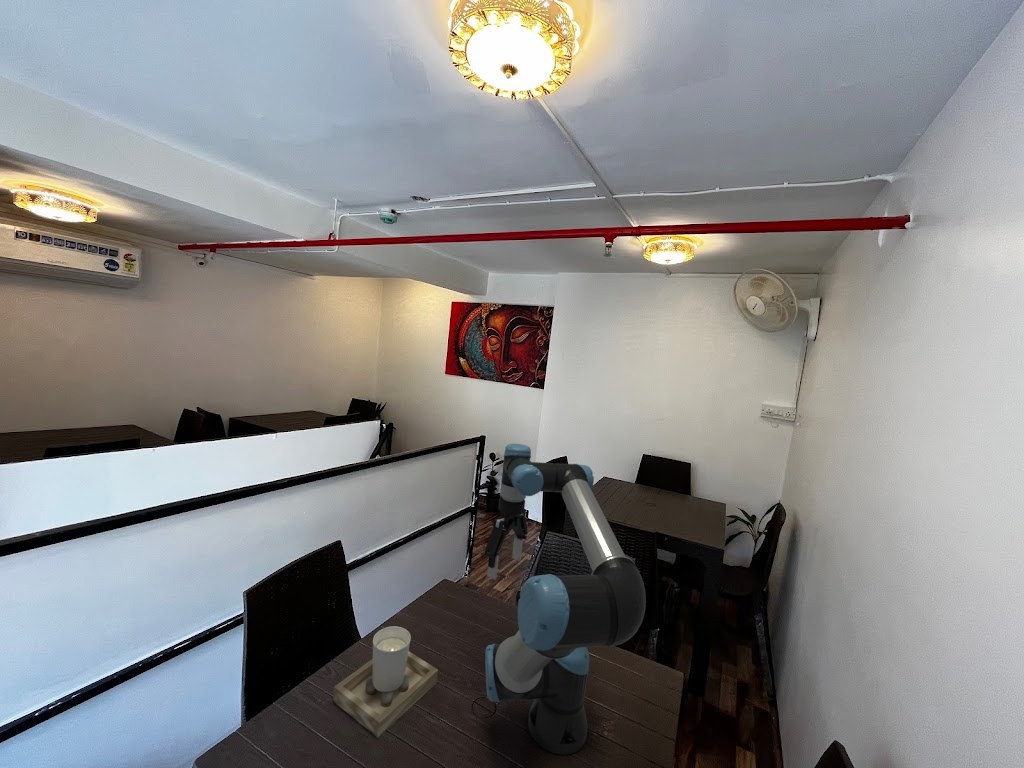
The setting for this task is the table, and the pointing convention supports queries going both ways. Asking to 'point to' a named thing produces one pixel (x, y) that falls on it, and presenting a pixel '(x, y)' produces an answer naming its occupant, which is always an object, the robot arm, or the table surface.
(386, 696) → the peg frame
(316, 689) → the table surface
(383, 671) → the candle holder
